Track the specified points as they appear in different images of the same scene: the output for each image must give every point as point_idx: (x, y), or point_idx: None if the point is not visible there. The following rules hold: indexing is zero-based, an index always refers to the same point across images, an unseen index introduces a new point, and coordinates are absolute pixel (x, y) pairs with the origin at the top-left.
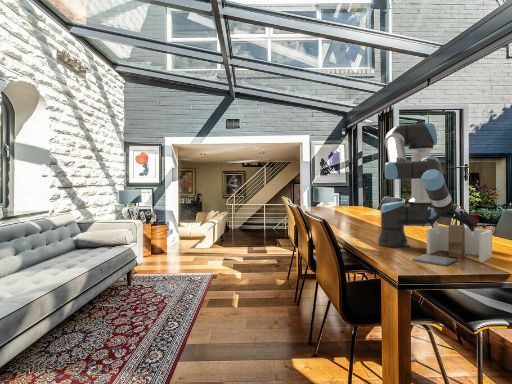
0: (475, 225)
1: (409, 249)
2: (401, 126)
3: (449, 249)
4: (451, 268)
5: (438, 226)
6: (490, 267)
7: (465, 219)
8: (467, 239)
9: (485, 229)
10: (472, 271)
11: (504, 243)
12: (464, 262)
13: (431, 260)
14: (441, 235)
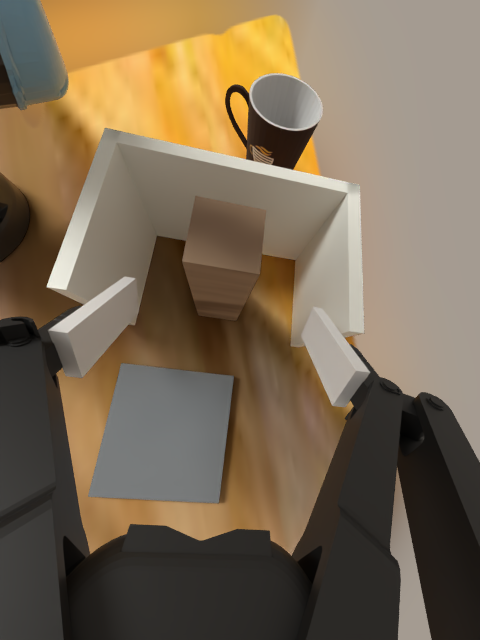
0: (413, 441)
1: (48, 279)
2: None
3: (199, 309)
4: (243, 518)
5: (118, 295)
6: (330, 406)
7: (415, 547)
8: None
9: (292, 78)
10: (304, 510)
11: (291, 68)
12: (258, 385)
13: (164, 471)
14: (143, 191)
